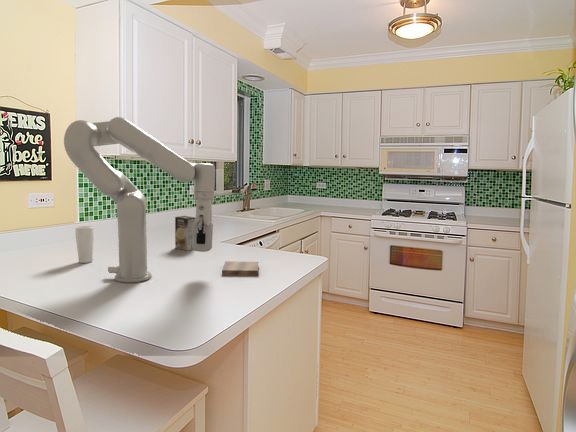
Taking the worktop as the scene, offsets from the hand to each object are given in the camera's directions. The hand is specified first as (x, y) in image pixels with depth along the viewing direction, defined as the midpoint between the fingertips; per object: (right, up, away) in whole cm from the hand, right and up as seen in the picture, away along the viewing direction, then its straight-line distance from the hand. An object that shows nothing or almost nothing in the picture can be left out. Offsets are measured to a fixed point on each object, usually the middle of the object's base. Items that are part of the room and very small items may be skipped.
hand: (202, 241), depth 149 cm
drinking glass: (-53, -10, +15) cm, 56 cm away
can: (0, -4, 0) cm, 4 cm away
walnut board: (+14, -12, +9) cm, 21 cm away
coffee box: (-19, -7, +47) cm, 51 cm away
